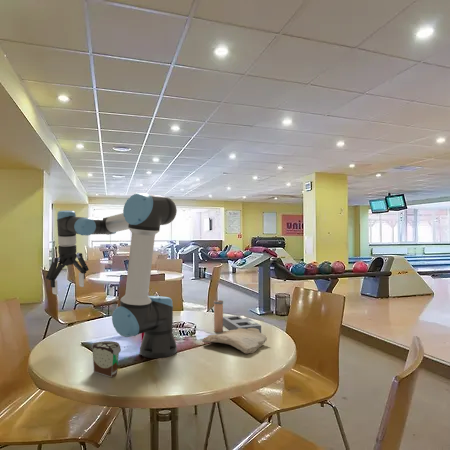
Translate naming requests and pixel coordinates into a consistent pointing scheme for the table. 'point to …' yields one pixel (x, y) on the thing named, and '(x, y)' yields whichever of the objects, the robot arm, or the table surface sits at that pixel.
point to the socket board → (239, 323)
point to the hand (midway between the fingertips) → (68, 290)
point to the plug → (218, 315)
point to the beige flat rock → (240, 339)
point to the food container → (106, 357)
